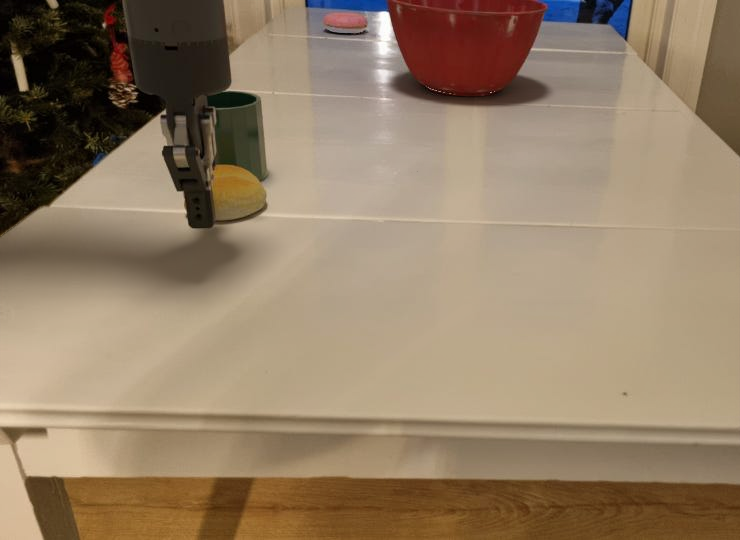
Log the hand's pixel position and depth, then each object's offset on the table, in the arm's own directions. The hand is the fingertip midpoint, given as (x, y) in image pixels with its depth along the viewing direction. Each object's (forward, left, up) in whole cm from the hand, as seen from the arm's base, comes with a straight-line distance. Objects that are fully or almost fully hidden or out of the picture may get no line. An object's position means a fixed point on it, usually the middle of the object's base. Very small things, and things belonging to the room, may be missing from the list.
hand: (202, 225), depth 66 cm
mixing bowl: (+13, +73, -3) cm, 74 cm away
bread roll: (-3, +10, -3) cm, 11 cm away
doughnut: (-24, +121, -3) cm, 123 cm away
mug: (-8, +19, -2) cm, 21 cm away
